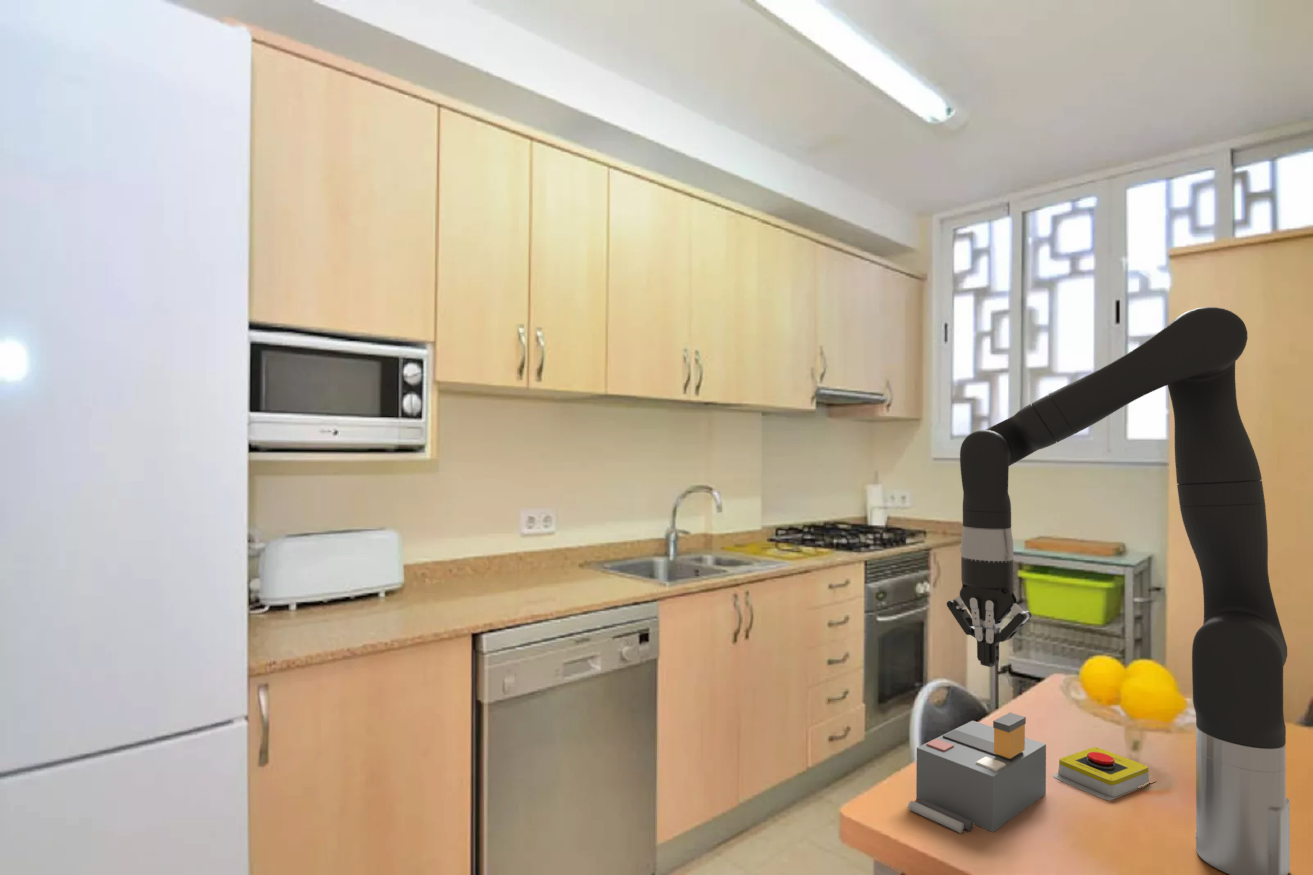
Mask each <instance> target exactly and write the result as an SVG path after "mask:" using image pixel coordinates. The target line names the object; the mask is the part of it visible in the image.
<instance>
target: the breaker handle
mask: <svg viewBox="0 0 1313 875" xmlns="http://www.w3.org/2000/svg"><path fill="white" fill-rule="evenodd" d="M1026 720H1027V718H1026V716H1022V715H1019V714H1017V713H1012V712H1008V713H1005V715H1002V716H1000V717H998V718H996V719H994V720H993V721H992V723H993V724H992V727H993V728H994V753H995V754H998V755H1001V756H1004V757H1006V758H1009V759H1010V758H1012V757H1014V756H1015V755H1017V754H1019V753H1020V752H1022V751H1024V750H1025V738H1026V737H1025V736H1026V733H1025V732H1026V730H1025V729H1026V727H1025V726H1026Z"/></svg>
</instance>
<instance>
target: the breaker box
mask: <svg viewBox="0 0 1313 875" xmlns="http://www.w3.org/2000/svg"><path fill="white" fill-rule="evenodd" d="M1046 779H1047V744H1046V743H1044V742H1041V741H1037V740H1034V739H1032V738H1028V737H1025V750H1024V751H1022V752H1020V753H1019V754H1017V755H1015V756H1014V757H1012V758H1010V759H1009V758H1006V757H1004V756H1001V755H998V754H995V753H994V728H993V726H991V725H988V724H984V723H982V722H979V721H975V720H971V721H968V722H967V723H964V724H962V725H960V726H958V727H957V728H954V729H952V730H950V731H948V732H946V733H943V734H942V735H940V736H938V737H936V738H934V739H932V740H929V741H928V742H925V743H923V744H921V745H918V746H917V747H916V779H915V780H916V783H915V784H916V786H915V787H916V796H915V798H916V799H917V801H918V800H919V799H923V800H925V801H927V802H930V803H932V804H934V805H937V806H939V807H941V808H943V809H946V810H948V811H950V812H953V813H955V814H957V815H959V816H962V817H964V818H966V819H969V820H971V821H972V822H973V825H975V826H977V827H980V828H982V829H984V830H986V831H989V832H991V833H994V832H996V831H997V830H998V829H1000V828H1001V827H1002V826H1004V825H1005V824H1006V823H1008V822H1009V821H1011V820H1012V819H1014V818H1015V817H1017V816H1018V815H1019V814H1021V813H1022V812H1023V811H1024V810H1026V809H1027V808H1029V807H1030V806H1032V804H1034V803H1036V802H1037V801H1039V800H1040V799H1041V798H1042V797H1044V796H1046V795H1047V794H1046V793H1047V780H1046Z"/></svg>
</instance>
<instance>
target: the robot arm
mask: <svg viewBox="0 0 1313 875" xmlns="http://www.w3.org/2000/svg"><path fill="white" fill-rule="evenodd" d="M1247 341H1248V330H1247V326H1246V324H1245V322H1244V321H1243V319H1242V318H1241V317H1240V316H1239V315H1237V314H1236V313H1234V312H1232V311H1231V310H1229V309H1225V308H1222V307H1217V306H1215V307H1214V306H1205V307H1198V308H1194V309H1190V310H1188V311H1186V312H1183V313H1182V314H1180V315H1178V316H1177V317H1176V318H1174V319H1173V320H1172V321H1171V322H1170V323H1169V324H1168V325H1167V326H1165V327H1164V328H1163V329H1161V330H1160V331H1159V332H1157V333H1156V334H1155V335H1153V336H1152V337H1150V338H1149V339H1148V340H1146V341H1145V342H1143V343H1141V345H1139V346H1137V347H1136V348H1134V349H1132V350H1131V351H1129V352H1128V353H1126V354H1125V355H1123V356H1120V357H1119V358H1117V359H1116V360H1114V361H1112V362H1110V363H1108V364H1107V365H1105V366H1103V367H1101V368H1099V369H1097V370H1095V371H1092V372H1091V373H1089V374H1086V375H1085V376H1083V377H1081V378H1079V379H1077V380H1075V381H1073V382H1070V383H1069V384H1066V385H1065V386H1063V387H1060V388H1058V389H1056V390H1055V391H1052V392H1050V393H1048V394H1047V395H1045V396H1043V397H1041V398H1038V399H1037V400H1035V401H1033V402H1032V403H1029V404H1028V405H1026V406H1024V407H1022V408H1021V409H1020V410H1018V411H1017V412H1015V414H1014V415H1012V416H1011V417H1009V418H1006V419H1005V420H1003V421H1001V422H999V423H997V424H996V423H995V424H994V425H992V426H990V427H988V428H985V429H980V430H975V431H973V432H971V433H970V434H968V435H967V436H965V438H964V440H963V441H962V443H961V445H960V449H959V451H960V452H959V467H960V468H959V469H960V475H961V476H960V478H961V486H962V491H963V492H962V493H963V497H962V531H961V540H960V560H961V562H960V563H961V568H960V569H961V572H960V573H961V575H960V576H961V577H960V578H961V583H962V586H961V588H960V589H959V596H957V597H956V598H954V599H951V600H948V601H947V602H946V607H947V609H948V610H949V612H951V614H952V616H953V618H954V619H955V620H956V621H957V623H958V625H959V626H960V628H961V629H962V630H963V632H964V634H965V635H966V636H971V637H972V638H975V640H976V654H977V656H976V657H977V660H978V661H979V662H980V665H981V666H985V667H988V668H992V667H995V666H996V665H997V663H999V660H1000V643H1003V642H1006V641H1009V640H1012V638H1013V637H1014V636H1016V634H1017V633H1018V632H1019V631H1020V630H1021V629H1022V628H1023V627H1024V625H1026V624H1027V622H1029V620H1030V619H1031V618H1032V616H1033V615H1032V613H1031V611H1029V610H1024V609H1023V608H1022V607H1021V606H1020V605H1019V604H1018V603H1017V597H1016V595H1015V593H1014V587H1015V583H1014V582H1015V579H1014V578H1015V577H1014V576H1015V574H1014V573H1015V572H1014V571H1015V570H1014V568H1015V567H1014V563H1015V562H1014V539H1013V533H1012V504H1011V498H1010V495H1009V467H1010V466H1012V465H1014V464H1015V463H1017V462H1019V461H1021V460H1023V459H1025V458H1026V457H1028V456H1030V455H1031V454H1033V453H1035V452H1037V451H1039V450H1042V449H1045V448H1048V447H1050V446H1053V445H1055V444H1057V443H1059V442H1061V441H1063V440H1066V439H1067V438H1069V437H1071V436H1074V435H1075V434H1077V433H1079V432H1081V431H1083V430H1085V429H1087V428H1089V427H1091V426H1092V425H1094V424H1096V423H1098V422H1100V421H1102V420H1104V419H1105V418H1107V417H1108V416H1110V415H1112V414H1113V413H1115V412H1117V411H1119V410H1120V409H1121V408H1124V407H1125V406H1127V405H1128V404H1130V403H1132V402H1134V401H1136V400H1138V399H1140V398H1142V397H1144V396H1145V395H1146V396H1147V395H1148V394H1150V393H1152V392H1155V391H1157V390H1159V389H1161V388H1163V387H1167V388H1168V392H1169V397H1170V400H1171V406H1172V411H1173V417H1174V418H1173V419H1174V421H1173V422H1174V463H1175V475H1176V484H1177V485H1176V489H1177V493H1178V494H1177V495H1178V502H1179V503H1178V504H1179V510H1180V514H1181V518H1182V522H1183V526H1184V529H1185V532H1186V534H1187V538H1188V541H1189V543H1190V546H1191V548H1192V551H1193V553H1194V556H1195V559H1196V561H1197V564H1198V568H1199V570H1200V576H1201V582H1202V593H1203V624H1202V625H1201V627H1199V629H1198V630H1197V631H1196V633H1195V635H1194V637H1193V642H1192V647H1191V649H1192V650H1191V671H1192V672H1191V673H1192V674H1191V677H1192V679H1191V680H1192V703H1193V709H1194V711H1195V725H1196V726H1195V739H1196V740H1195V851H1196V853H1197V855H1198V856H1199V857H1200V858H1201V859H1202V860H1203V861H1204V862H1205V863H1207V865H1210V866H1211V867H1212V868H1213V867H1214V868H1215V869H1217V870H1219V871H1221V872H1223V873H1225V874H1228V875H1289V874H1290V871H1291V870H1290V868H1291V867H1290V866H1291V864H1290V862H1291V861H1290V860H1291V856H1290V855H1291V853H1290V852H1291V850H1290V848H1291V847H1290V845H1291V842H1290V839H1291V838H1290V836H1291V835H1290V834H1291V832H1290V830H1291V829H1290V826H1291V825H1290V823H1291V822H1290V821H1291V820H1290V819H1291V818H1290V815H1291V814H1290V812H1291V811H1290V810H1291V809H1290V805H1291V804H1290V803H1291V802H1290V799H1289V798H1288V797H1287V796H1286V795H1287V794H1286V792H1287V791H1286V790H1287V788H1286V783H1287V781H1286V780H1287V779H1286V770H1287V768H1286V765H1287V764H1286V759H1287V758H1286V753H1287V752H1286V744H1287V743H1286V742H1287V738H1286V736H1287V735H1286V733H1287V732H1286V731H1287V730H1286V727H1287V726H1286V723H1285V716H1284V715H1285V714H1284V666H1285V664H1286V662H1287V658H1288V646H1287V642H1286V639H1285V635H1284V633H1283V629H1282V626H1281V623H1280V619H1279V616H1278V612H1277V608H1276V605H1275V601H1274V600H1275V599H1274V596H1273V593H1272V588H1271V582H1270V577H1269V566H1268V564H1269V562H1268V561H1269V558H1268V557H1269V540H1268V539H1269V538H1268V536H1269V535H1268V522H1267V511H1266V500H1265V499H1266V498H1265V493H1264V492H1265V491H1264V487H1263V481H1262V479H1263V478H1262V473H1261V469H1260V465H1259V464H1260V463H1259V461H1258V458H1257V456H1256V452H1255V449H1254V447H1253V444H1252V443H1251V439H1250V437H1249V434H1248V432H1247V430H1246V428H1245V425H1244V423H1243V421H1242V418H1241V414H1240V410H1239V407H1238V402H1237V400H1238V399H1237V386H1236V361H1237V360H1238V359H1239V358H1240V357H1241V355H1243V352H1244V350H1245V349H1246V346H1247ZM967 610H968V611H967ZM1010 612H1011V613H1010ZM970 614H971V615H970ZM1009 614H1010V615H1009ZM1008 615H1009V617H1010V619H1011V620H1010V621H1009V623H1008V624H1006V626H1005V627H1004V628H1003V626H1004V619H1005V618H1006V617H1007V616H1008ZM1002 628H1003V629H1002Z"/></svg>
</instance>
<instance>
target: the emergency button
mask: <svg viewBox="0 0 1313 875" xmlns="http://www.w3.org/2000/svg"><path fill="white" fill-rule="evenodd" d="M1149 772H1150V771H1149V766H1147V765H1146V764H1144V763H1141V762H1138V761H1136V760H1133V759H1130V758H1127V757H1124V756H1122V755H1119V754H1117V753H1114V752H1111V751H1108V750H1106V749H1103V748H1100V747H1096V746H1094V747H1093V746H1092V747H1090V748H1087V749H1086V748H1085V749H1083V750H1081V751H1078V752H1075V753H1072V754H1069V755H1066V756H1063V757H1060V758H1059V761H1058V772H1057V773H1054V774H1053V778H1054V779H1056V780H1058V781H1061V782H1063V783H1065V784H1067V785H1069V786H1072V787H1074V788H1076V789H1079V790H1081V791H1084V792H1085V793H1087V794H1091V795H1092V796H1095V797H1098V798H1100V799H1102V800H1105V801H1113V800H1114V799H1115V800H1116V799H1117V798H1120V797H1122V796H1124V795H1127V794H1129V793H1132V792H1135V791H1138V790H1139V789H1138V787H1139V786H1141V785H1144V784H1145V783H1147V782H1149V776H1150V774H1149Z"/></svg>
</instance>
